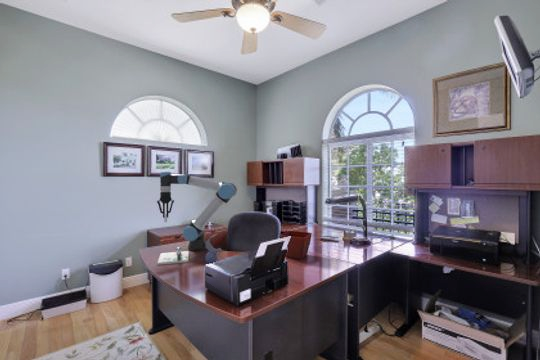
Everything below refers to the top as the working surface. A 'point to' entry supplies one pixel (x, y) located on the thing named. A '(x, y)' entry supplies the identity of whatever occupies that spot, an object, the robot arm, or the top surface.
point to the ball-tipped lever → (178, 253)
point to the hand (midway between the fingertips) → (165, 221)
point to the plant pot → (297, 243)
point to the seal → (211, 251)
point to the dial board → (172, 258)
